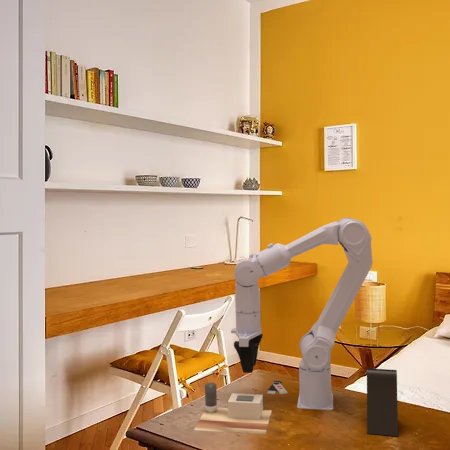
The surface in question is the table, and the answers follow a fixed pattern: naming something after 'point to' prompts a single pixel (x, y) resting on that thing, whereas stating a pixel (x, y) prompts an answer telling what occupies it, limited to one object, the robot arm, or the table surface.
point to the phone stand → (382, 402)
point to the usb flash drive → (276, 388)
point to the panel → (233, 423)
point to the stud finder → (245, 406)
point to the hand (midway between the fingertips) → (249, 368)
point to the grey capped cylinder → (210, 398)
